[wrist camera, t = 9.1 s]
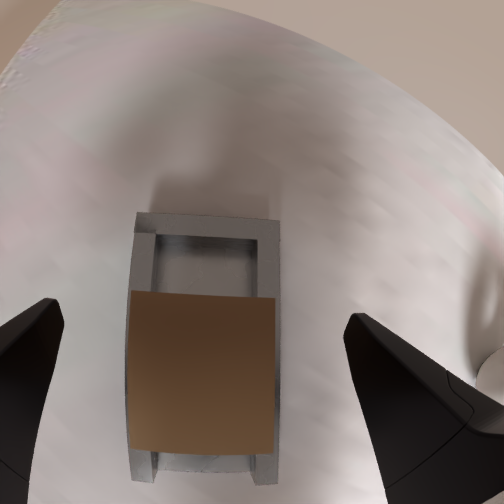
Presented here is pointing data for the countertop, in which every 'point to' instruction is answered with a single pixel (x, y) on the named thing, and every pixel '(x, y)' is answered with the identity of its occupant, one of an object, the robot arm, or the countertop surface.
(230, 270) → the grey tray
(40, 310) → the robot arm
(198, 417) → the brown wooden block
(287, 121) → the countertop surface
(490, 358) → the donut
